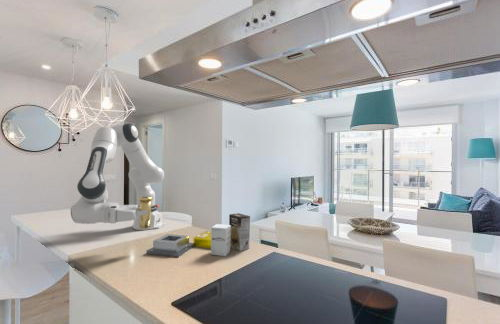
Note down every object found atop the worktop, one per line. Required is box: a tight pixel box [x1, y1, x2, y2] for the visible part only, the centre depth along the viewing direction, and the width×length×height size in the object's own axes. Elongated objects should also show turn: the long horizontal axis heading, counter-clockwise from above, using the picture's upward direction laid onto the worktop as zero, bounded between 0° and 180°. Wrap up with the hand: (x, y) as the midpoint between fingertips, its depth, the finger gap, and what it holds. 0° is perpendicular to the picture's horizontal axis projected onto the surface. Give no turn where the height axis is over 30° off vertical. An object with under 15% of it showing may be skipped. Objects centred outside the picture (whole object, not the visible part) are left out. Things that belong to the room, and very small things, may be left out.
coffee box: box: [228, 212, 251, 252], centre depth 127 cm, size 9×6×16 cm
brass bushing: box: [138, 197, 153, 229], centre depth 119 cm, size 6×6×14 cm
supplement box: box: [210, 223, 231, 257], centre depth 118 cm, size 7×7×13 cm
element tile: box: [192, 230, 211, 249], centre depth 133 cm, size 15×15×5 cm
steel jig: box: [146, 233, 195, 258], centre depth 122 cm, size 16×16×6 cm
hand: (147, 211), depth 119 cm, fingers closed on brass bushing, 5 cm apart
